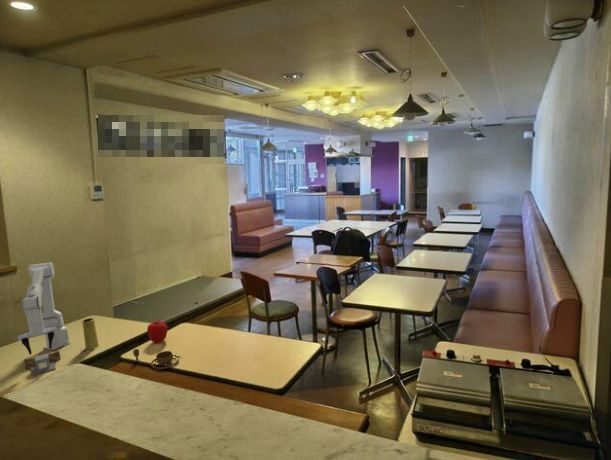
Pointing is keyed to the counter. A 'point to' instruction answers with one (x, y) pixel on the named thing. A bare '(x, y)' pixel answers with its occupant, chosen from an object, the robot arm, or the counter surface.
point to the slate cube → (42, 362)
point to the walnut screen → (31, 361)
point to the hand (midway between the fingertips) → (40, 351)
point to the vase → (90, 333)
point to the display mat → (52, 367)
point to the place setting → (159, 358)
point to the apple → (157, 331)
